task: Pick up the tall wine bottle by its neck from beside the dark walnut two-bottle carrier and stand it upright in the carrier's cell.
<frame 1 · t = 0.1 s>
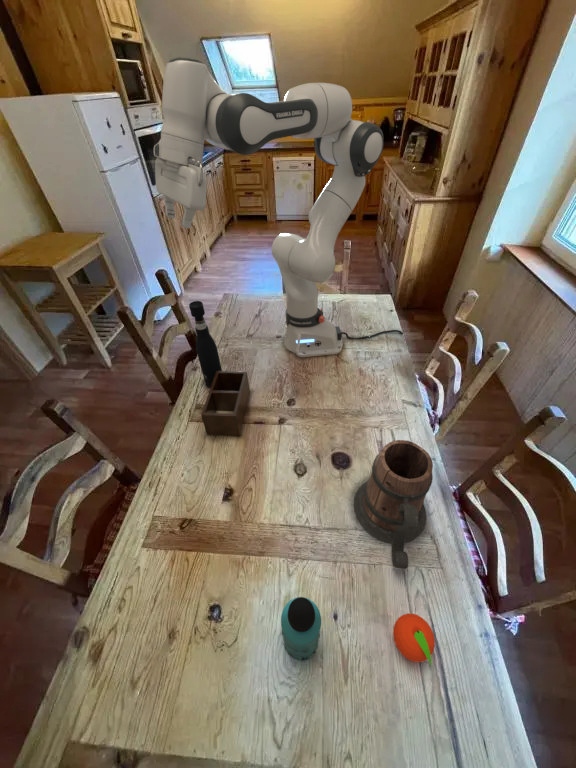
hand: (177, 222, 82), 52 cm above the table, tool tilted 20°, fingers open, 8 cm apart
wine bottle: (214, 382, 117), on the table
clementine: (410, 645, 62), on the table
beverage bottle: (301, 642, 63), on the table
carrier: (229, 412, 106), on the table
tankard: (390, 522, 79), on the table
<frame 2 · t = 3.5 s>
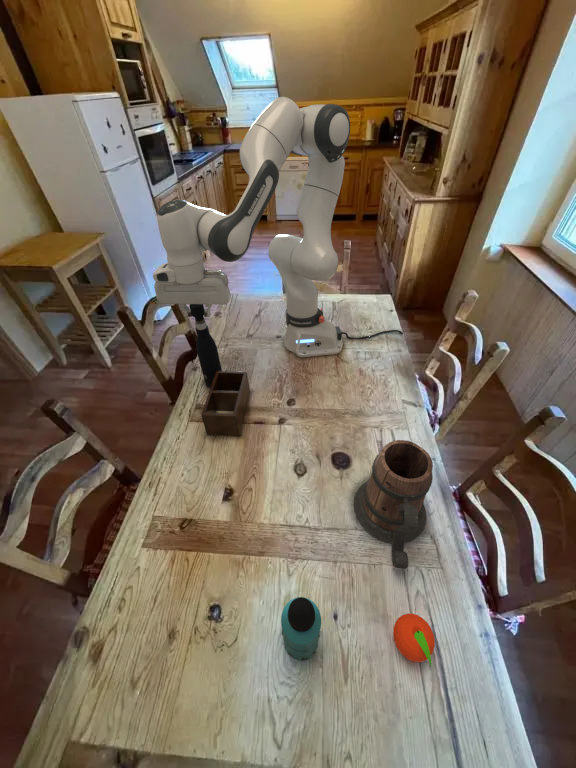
hand: (198, 316, 99), 26 cm above the table, tool pointing down, fingers closed on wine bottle, 4 cm apart
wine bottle: (214, 382, 117), on the table, touching gripper
everything else where it was.
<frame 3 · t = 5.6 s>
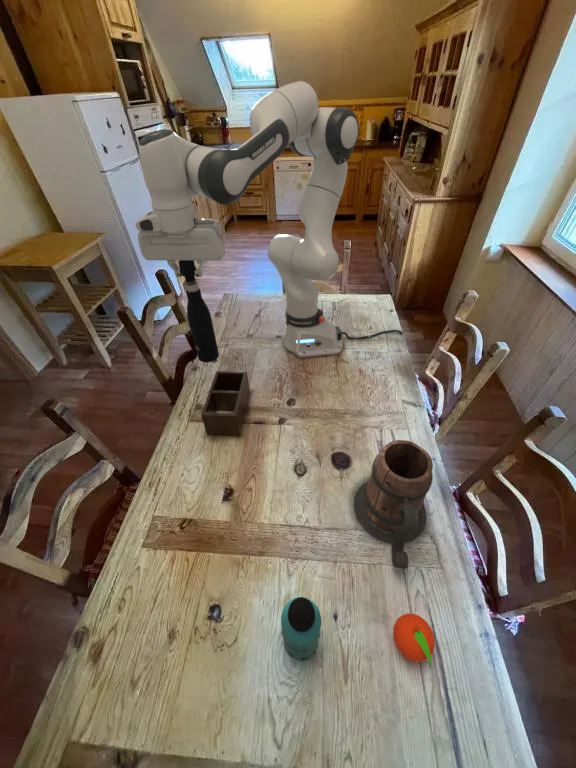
hand: (189, 275, 88), 40 cm above the table, tool pointing down, fingers closed on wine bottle, 4 cm apart
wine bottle: (208, 356, 105), point 13 cm above the table, touching gripper
everything else where it was.
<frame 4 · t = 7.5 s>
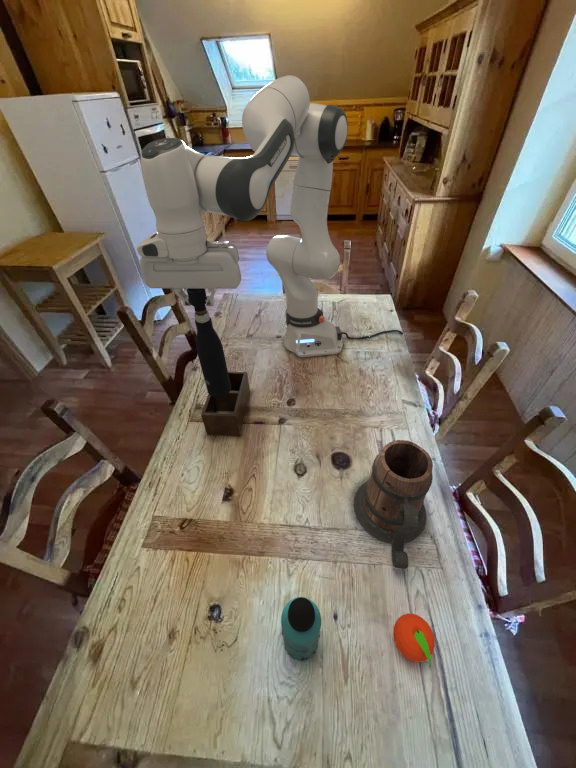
hand: (199, 304, 76), 40 cm above the table, tool pointing down, fingers closed on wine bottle, 4 cm apart
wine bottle: (219, 389, 94), point 14 cm above the table, touching gripper
everything else where it was.
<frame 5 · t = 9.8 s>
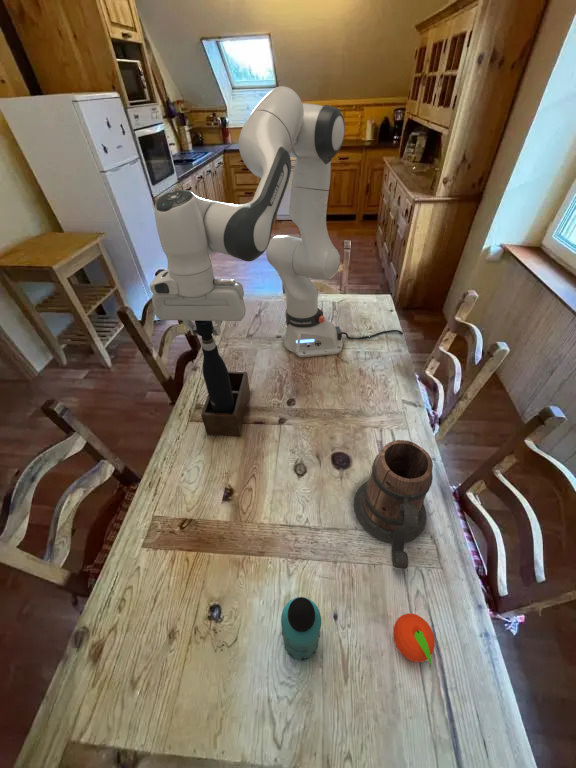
hand: (206, 334, 81), 32 cm above the table, tool pointing down, fingers closed on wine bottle, 4 cm apart
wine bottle: (224, 409, 99), point 6 cm above the table, touching gripper
everything else where it was.
when the fingers open (27 cm above the table, at t = 11.6 s): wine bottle stays where it is, resting on carrier.
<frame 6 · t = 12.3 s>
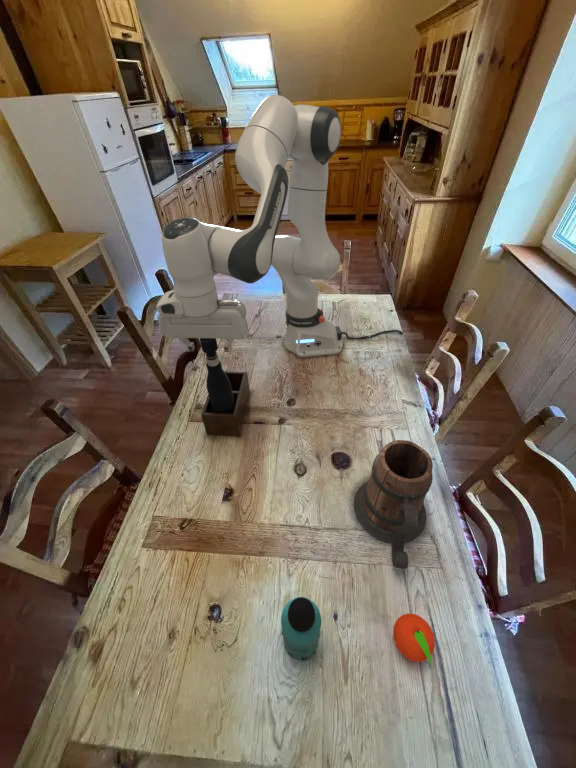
hand: (209, 350, 84), 27 cm above the table, tool pointing down, fingers open, 8 cm apart
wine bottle: (226, 420, 103), point 1 cm above the table, touching carrier
everything else where it was.
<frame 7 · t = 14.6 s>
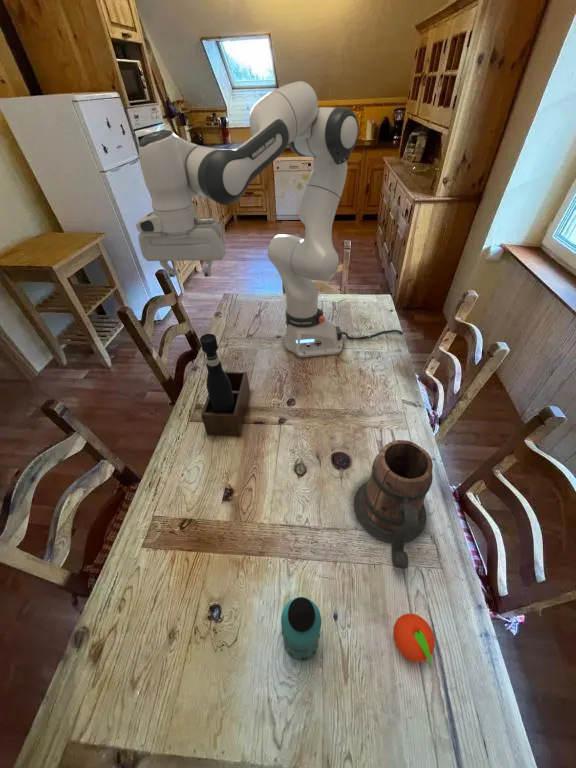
hand: (190, 275, 88), 40 cm above the table, tool pointing down, fingers open, 8 cm apart
nothing on the table moved.
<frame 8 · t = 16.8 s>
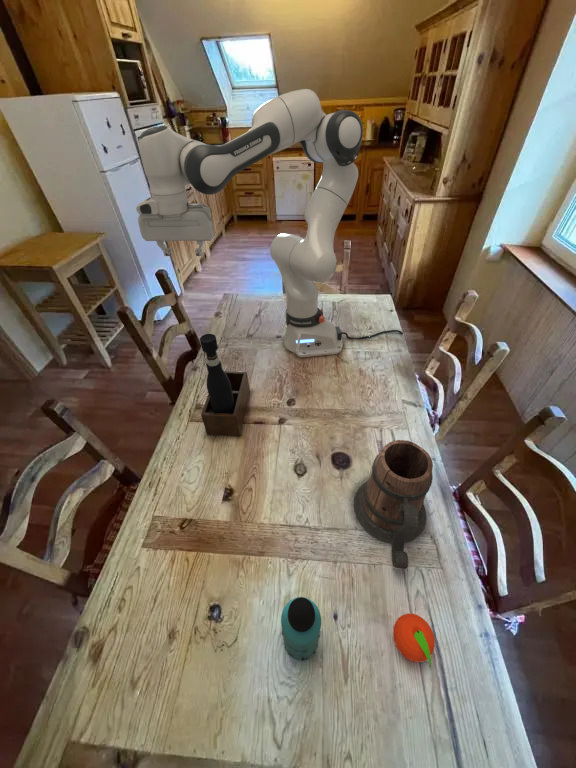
hand: (183, 255, 99), 39 cm above the table, tool pointing down, fingers open, 8 cm apart
nothing on the table moved.
at the end: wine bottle 0.2 cm from the target spot in the carrier, point 0.8 cm above the carrier's base; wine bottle tilted 0°; the gripper is holding nothing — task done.
